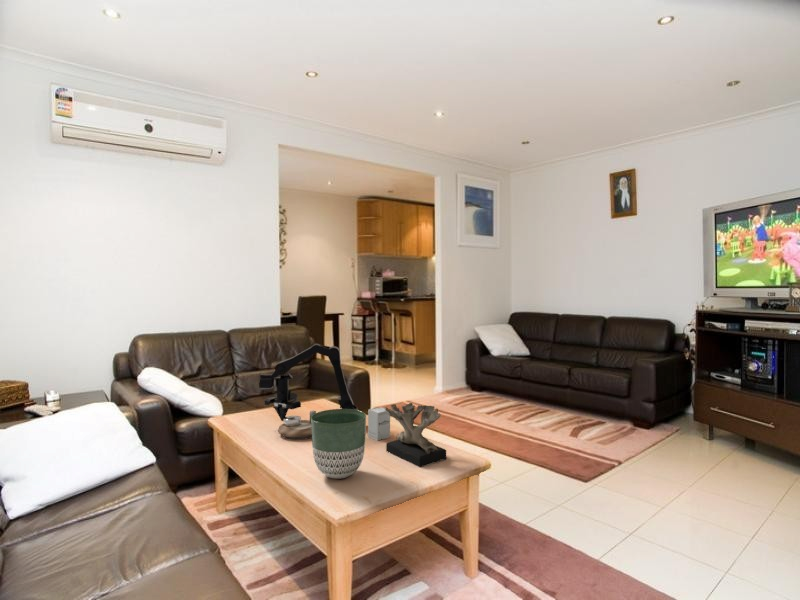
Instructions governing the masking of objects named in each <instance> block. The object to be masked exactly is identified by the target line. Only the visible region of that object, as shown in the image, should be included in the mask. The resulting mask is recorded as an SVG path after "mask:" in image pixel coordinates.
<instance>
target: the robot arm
mask: <svg viewBox="0 0 800 600" xmlns="http://www.w3.org/2000/svg"><path fill="white" fill-rule="evenodd" d="M340 351H341V349H340V348H339V347H338V346H335V345H334V346H328V345H325V344H324V345H323V344H320V343H314V344H313V345H312V346H310V347H308V348H307V349H305V350H303V351H301V352H300V353H298V354H296V355H294V356H293V357H289V358H286V359H283V360H281V361H279V362H278V363H277V364H276V365H275V367H274V371H273V372H272V373H270V374H269V373H268V374H265V373H261V374H260V375H259V376H260V377H259V382H258V388H259V389H260V390H269V389H270V390H271V389H273V388H274V387H275V390H274V392H273V393H274V394H276V395H275V396H271V397H266V398H265V400H264V405H265V406H270V405H271V404H273V405H274V406H272V408H273V409H275V413H277V415H278V417H279V419H280V421H281V422H284V420H283V419H284V418H285V417H287V416H286V415H287V413H288V411H289V410H296V409H298V408H301V407H302V403H301V401H300V400H298V395H299V394H298V393H294V392H292V390H291V389H289V387H290V386H289V380H291V379H293V375H291V373H289V371H290V370H291V369H293V368H294V366H296V365H298V364H299V363H301V362H303V361H304V360H307V359H308V358H310V357H312V356H313V355H315V354H319V355H322V356H325V357H328V360H329V361H330V364H331V365H332V368H333V371H334V374H335V379H336V382H337V386H338V390H339V394H340V396H339V397H338V399H337V402H338V404H339V409H353V410H358V411H359V409H358V406H357V405H355V404H354V401H353V399H352V396H351V394H350V393H349V390H348V387H347V383H346V380H345V375H344V372H343V369H342V363H341V352H340ZM286 373H287V374H286Z"/></svg>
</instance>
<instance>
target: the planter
mask: <svg viewBox="0 0 800 600" xmlns="http://www.w3.org/2000/svg"><path fill="white" fill-rule="evenodd" d="M366 426H367V414H366V413H365V412H364V411H361V410H359V409H358V410H353V409H342V408H341V409H340V408H335V409H334V408H333V409H325V410H321V411H318V412H316V413H315V414H313V415H312V416H311V429H312V437H311V442H312V443H311V445H312V453H313V460H314V463H315V465H316V468H317V469H318V470H319V471H320V473H322V474H323V475H324V476H325V477H328V478H330V479H335V480H337V479H339V480H340V479H345V478H348V477H350V476H351V475H353V474H355V472H357V471H358V470H359V468H360V467H361V466H362V462H363V460H364V455H365V451H366V450H365V446H366Z"/></svg>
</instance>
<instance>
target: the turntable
mask: <svg viewBox="0 0 800 600" xmlns="http://www.w3.org/2000/svg"><path fill="white" fill-rule="evenodd" d="M315 413H317V411H316V410H309V419H301V425H299V426H295V427H286V426H284V423H282V424H280V425H279V426H278V433H279V435H281V436H283V437H284V436H287V437H306V436H311V435H312V429H311V416H312V415H313V414H315Z"/></svg>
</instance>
